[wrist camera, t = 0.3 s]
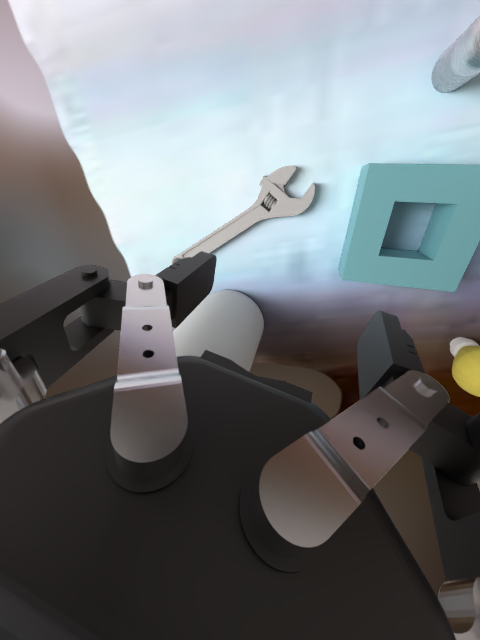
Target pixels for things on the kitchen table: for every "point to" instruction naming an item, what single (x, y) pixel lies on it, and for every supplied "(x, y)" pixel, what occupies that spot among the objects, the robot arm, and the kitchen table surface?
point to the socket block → (440, 237)
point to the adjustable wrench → (256, 211)
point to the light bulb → (466, 364)
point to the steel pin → (459, 61)
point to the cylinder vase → (222, 328)
